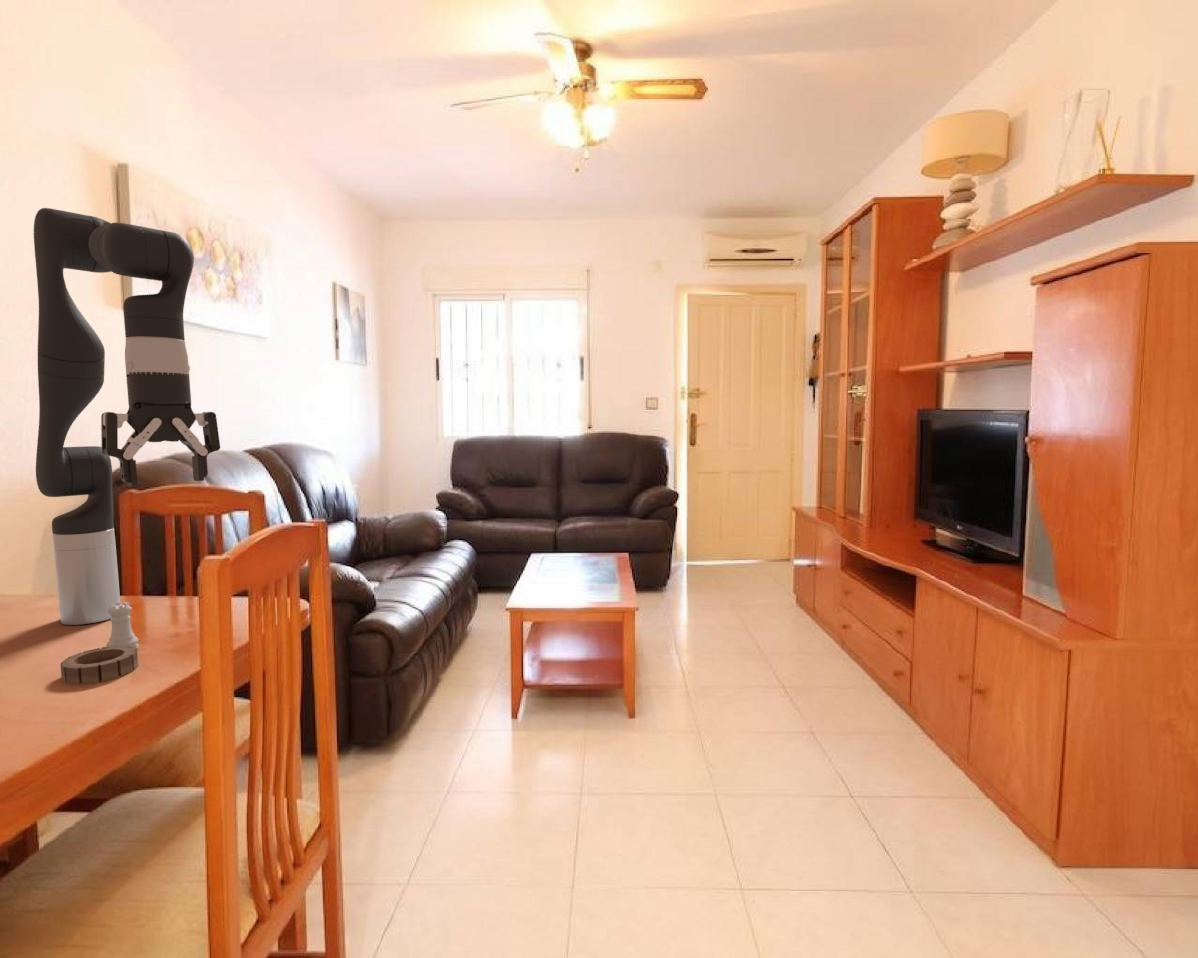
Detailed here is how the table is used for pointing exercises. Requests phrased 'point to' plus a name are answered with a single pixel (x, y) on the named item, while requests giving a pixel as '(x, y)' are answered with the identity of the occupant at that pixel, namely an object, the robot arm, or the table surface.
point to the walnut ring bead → (99, 665)
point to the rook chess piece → (121, 626)
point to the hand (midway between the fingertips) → (166, 483)
